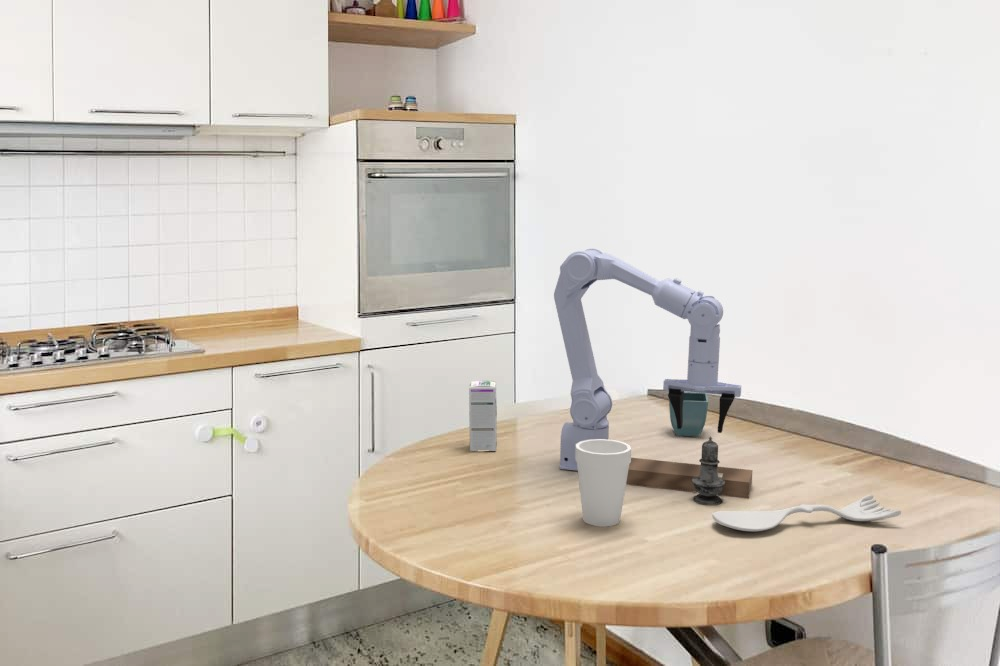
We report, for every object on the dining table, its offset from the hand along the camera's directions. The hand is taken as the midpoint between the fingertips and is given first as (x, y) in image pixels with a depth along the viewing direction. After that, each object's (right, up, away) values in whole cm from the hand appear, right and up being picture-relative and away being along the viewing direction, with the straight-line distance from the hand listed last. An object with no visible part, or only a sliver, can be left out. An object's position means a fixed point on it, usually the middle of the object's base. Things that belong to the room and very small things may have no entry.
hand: (699, 429), depth 181 cm
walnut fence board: (-3, -10, -1) cm, 11 cm away
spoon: (+13, -14, -21) cm, 29 cm away
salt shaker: (-1, -12, -10) cm, 15 cm away
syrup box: (-42, -7, +22) cm, 48 cm away
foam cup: (-21, -14, -20) cm, 32 cm away
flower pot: (+5, -5, +36) cm, 36 cm away
